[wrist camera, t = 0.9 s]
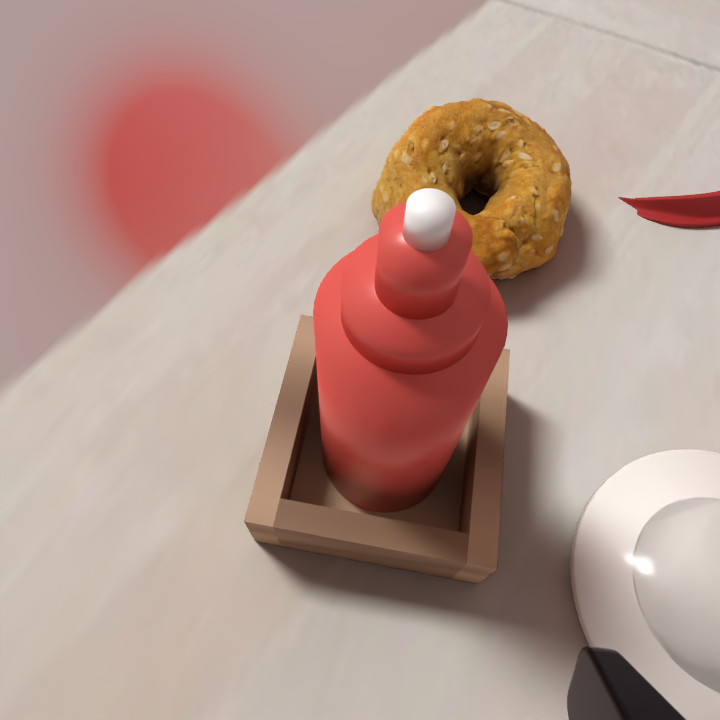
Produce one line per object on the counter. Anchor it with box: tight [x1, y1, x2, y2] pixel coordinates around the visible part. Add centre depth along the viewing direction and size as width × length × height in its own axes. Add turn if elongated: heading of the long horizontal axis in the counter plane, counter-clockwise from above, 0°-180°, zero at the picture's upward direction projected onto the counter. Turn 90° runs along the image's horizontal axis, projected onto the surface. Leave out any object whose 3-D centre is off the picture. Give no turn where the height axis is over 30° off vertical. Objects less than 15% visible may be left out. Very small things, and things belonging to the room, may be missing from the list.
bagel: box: [372, 98, 572, 280], centre depth 29 cm, size 10×11×5 cm
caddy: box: [244, 315, 510, 584], centre depth 23 cm, size 9×9×3 cm
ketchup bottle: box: [313, 188, 508, 513], centre depth 18 cm, size 5×5×14 cm
